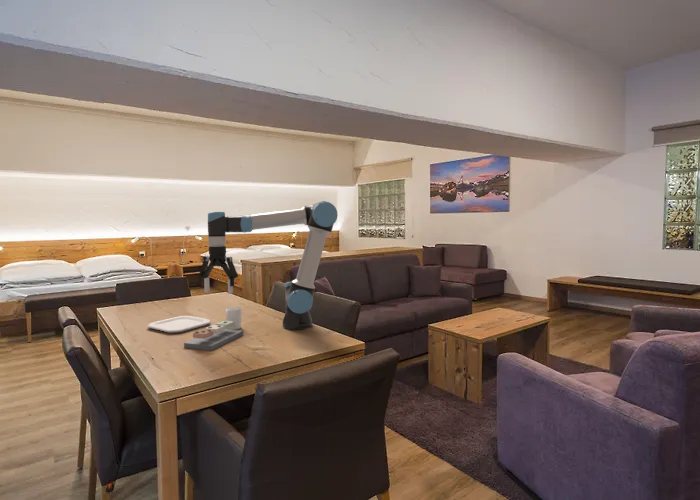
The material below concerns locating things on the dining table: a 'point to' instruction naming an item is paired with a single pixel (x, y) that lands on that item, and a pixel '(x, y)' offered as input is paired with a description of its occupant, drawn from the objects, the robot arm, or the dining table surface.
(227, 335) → the board
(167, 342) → the dining table surface
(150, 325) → the plate
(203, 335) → the tile three
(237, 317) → the white cup
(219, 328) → the tile two
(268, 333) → the dining table surface
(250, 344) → the dining table surface
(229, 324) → the tile one
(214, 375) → the dining table surface
